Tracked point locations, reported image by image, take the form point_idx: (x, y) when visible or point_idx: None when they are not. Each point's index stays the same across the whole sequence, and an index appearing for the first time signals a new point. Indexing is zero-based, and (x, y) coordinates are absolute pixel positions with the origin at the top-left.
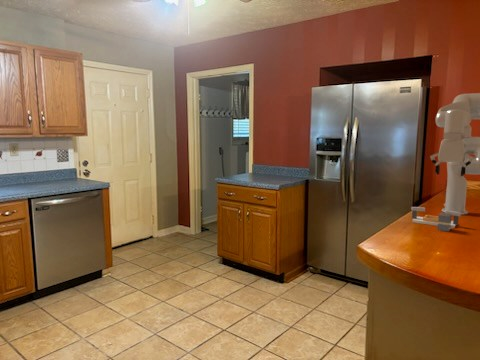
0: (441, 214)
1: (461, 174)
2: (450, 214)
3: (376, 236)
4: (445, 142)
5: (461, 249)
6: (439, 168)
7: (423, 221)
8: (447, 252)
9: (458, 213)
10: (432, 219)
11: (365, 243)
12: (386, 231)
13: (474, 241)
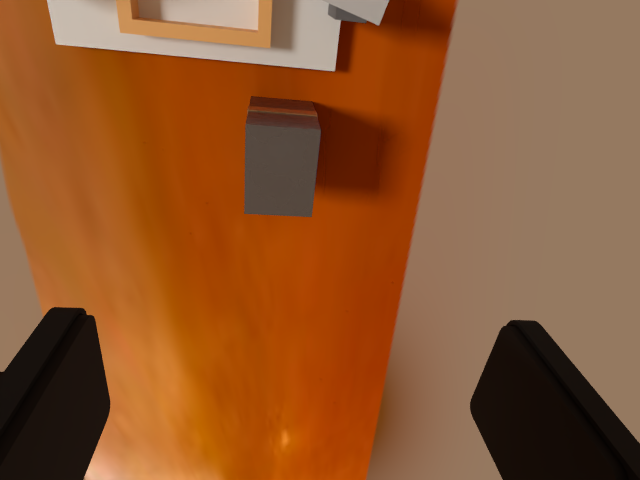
0: (258, 181)
1: (484, 428)
2: (313, 146)
3: None
4: None
5: (347, 385)
6: (39, 456)
7: (138, 51)
8: (309, 424)
9: (371, 21)
10: (191, 38)
11: None
12: None
13: (400, 281)
